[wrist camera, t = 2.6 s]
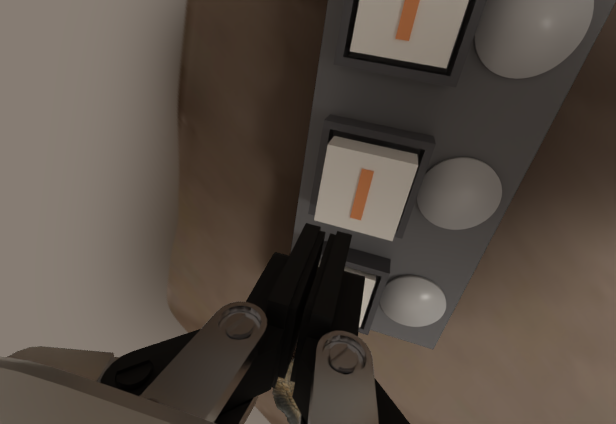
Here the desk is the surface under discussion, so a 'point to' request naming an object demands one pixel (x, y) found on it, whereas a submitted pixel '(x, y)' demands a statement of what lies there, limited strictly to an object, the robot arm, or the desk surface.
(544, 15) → the button panel
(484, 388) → the desk surface
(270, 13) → the desk surface
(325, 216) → the middle button
